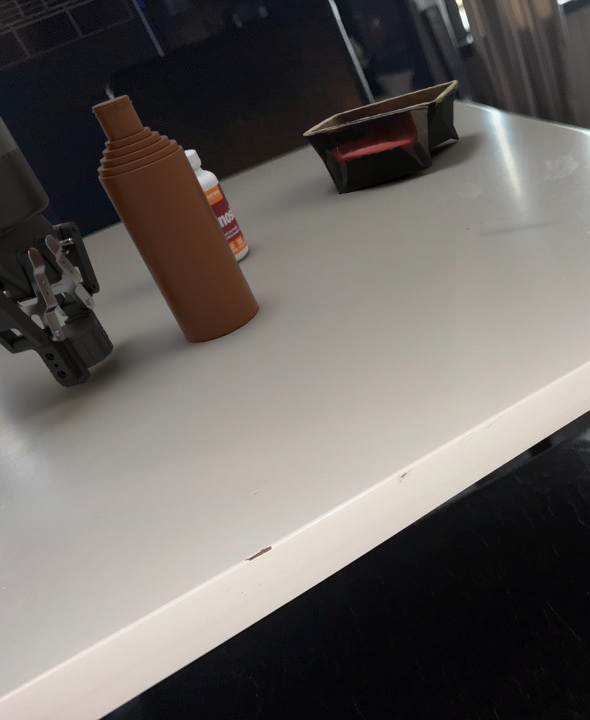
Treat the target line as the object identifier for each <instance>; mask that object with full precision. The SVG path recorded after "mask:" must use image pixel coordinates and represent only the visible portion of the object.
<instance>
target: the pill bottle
mask: <svg viewBox="0 0 590 720" xmlns="http://www.w3.org/2000/svg"><path fill="white" fill-rule="evenodd" d="M184 152H185V154H186V156H187V158H188V160H189V162H190V164H191V166H192V168H193V170H194V173H195V175H196V177H197V179H198V181H199V183H200V185H201V187H202V189H203V191H204V193H205V195H206V197H207V200H208V202H209V204H210V206H211V208H212V210H213V212H214V214H215V216H216V218H217V220H218V222H219V224H220V227H221V229H222V231H223V233H224V235H225V237H226V239H227V241H228V243H229V245H230V247H231V249H232V251H233V254H234V256H235V258H236V260H237V262H238V263H239V261H241V260H242V259H244V258H245V256H246V255H247V254H248V252H249V246H248V243H247V241H246V238H245V237H244V234H243V232H242V230H241V228H240V226H239V223H238V222H237V218H236V216H235V214H234V212H233V210H232V208H231V206H230V203H229V202H228V199H227V197H226V195H225V193H224V191H223V189H222V186H221V184H220V182H219V180H218V178H217V176H216V175H215V173H213V172H211V171H209V170H204V169H203V168H201V165H202V162H201V159H200V157H199V155H198V153H197V151H196V149H186V150H184Z"/></svg>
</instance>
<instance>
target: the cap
mask: <svg viewBox="0 0 590 720" xmlns="http://www.w3.org/2000/svg"><path fill="white" fill-rule="evenodd" d="M61 327H62V330H63V332H64V338H65V337H68V339H69V340H70V342H71V343H72V345H73V347H74V348H75V350H76V351H77V353H78V354H79V356H80V358H81V359H82V361H83V362H84V364H85V365H86V367H87V369H88V370H89V369H90V368H92V367H95V366H97V365H98V364H99V363H101V362H103V361H105V360H106V358H108V357H109V356H110V355H111V354H112V352H113V350H114V347H113V348H112V346H111V344H110V342H109V341H108V339H107V337H106V336H105V334H104V332H103V331H102V329H101V327H100V326H99V324H98V323H97V322H96V320H95V318H93V317H86V318H82V319H78V320H75V321H73V322H70V323H68V324H64V325H61Z"/></svg>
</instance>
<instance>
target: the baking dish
mask: <svg viewBox="0 0 590 720" xmlns="http://www.w3.org/2000/svg"><path fill="white" fill-rule="evenodd" d="M459 85H460V83H459V80H458V79H454V80H451V81H449V82H444V83H439V84H437V85H434V86H430V87H427V88H423V89H419V90H416V91H412V92H409V93H405V94H402V95H401V94H400V95H397V96H395V97H391V98H386V99H383V100H381V101H377V102H373V103H370V104H366V105H363V106H359V107H357V108H354V109H349V110H346V111H342V112H340V113H336V114H334V115H332V116H330V117H328V118H326V119H324V120H323V121H321V122H319V123H318V124H316V125H314V126H312V127H311V128H309V129H308V130H307V131H305V132H304V133H303V134H302V136H303V137H304V139H306V140H307V141H308V142H309V145H311V146H312V149H313V150H314V151H315V152H316V153H317V155H318V156H319V158H320V160H321V161H322V162H323V164H324V166H325V168H326V170H327V172H328V174H329V176H330V178H331V180H332V181H333V183H334V186H335V187H336V189H337V192H338V194H339V195H342V194H346V193H350V192H354V191H357V190H360V189H364V188H367V187H370V186H374V185H377V184H380V183H383V182H384V183H385V182H387V181H391V180H393V179H396V178H400V177H404V176H406V175H410V174H413V173H417V172H421V171H423V170H427V169H428V168H431V167H432V165H433V163H432V158H431V152H430V150H431V149H433V148H435V147H437V146H439V145H441V144H443V143H446V142H447V141H449V140H454V141H459V140H460V137H459V134H458V132H457V129H456V127H455V124H454V123H455V122H454V121H455V119H454V104H455V100H456V94H457V90H458V88H459Z"/></svg>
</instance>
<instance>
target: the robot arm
mask: <svg viewBox="0 0 590 720" xmlns="http://www.w3.org/2000/svg"><path fill="white" fill-rule="evenodd" d="M49 203H50V198H49V196H48V194H47V192H46V190H45V189H44V187H43V186H42V184H41V182H40V181H39V179H38V177H37V175H36V173H35V172H34V170H33V169H32V167H31V166H30V164H29V162H28V160H27V158H26V156H25V155H24V153H23V151H22V150H21V148H20V146H19V145H18V143H17V141H16V139H15V138H14V137H13V135H12V133H11V131H10V129H9V128H8V126H7V124H6V122H5V121H4V119H3V118H2V116H1V115H0V345H1V346H2V347H3V348H4V349H6V350H7V351H8V352H9V353H10V354H12V355H16V354H20V353H23V352H27V351H28V352H29V351H34V352H35V353H37V354H38V356H39V357H40V359H41V360H42V362H43V363H44V364H45V366H46V368H47V369H48V370H49V372H50V374H51V375H52V377H53V378H54V379H55V381H56V383H58V384H60V385H61V386H62V387H64V388H71V387H76V386H79V385H83V384H86V382H88V380H89V379H90V377H91V375H92V374H91V372H90V370H89V368H88V369H87V367H86V365H85V364H84V362H83V361H82V359H81V358H80V356H79V354H78V353H77V351H76V350H75V348H74V347H73V345H72V343H71V342H70V340H69V339H68V337H65V338H64V332H63V330H62V325H61V322H60V320H59V318H58V316H57V314H56V312H57V313H58V314H59V315H60V316H62V317H63V318H66V319H65V320H64V321H63V324H64V325H66V324H68V323H70V322H73V321H75V320H78V319H82V318H86V317H93V318H95V320H96V322H97V323H98V324H99V326H100V327H101V329H102V331H103V332H104V334H105V336H106V337H107V339H108V341H109V342H110V344H111V346H112V348H113V349H114V344H113V342H112V341H111V339H110V337H109V335H108V333H107V331H106V330H105V328H104V327H103V325H102V323H101V321H100V320H99V318H98V317H97V315H96V313H95V312H94V310H93V309H94V308H95V300H94V298H93V296H94V295H95V294H99V293H100V284H99V281H98V278H97V276H96V273H95V270H94V268H93V265H92V262H91V260H90V256H89V254H88V251H87V247H86V246H85V243H84V240H83V237H82V235H81V232H80V229H79V226H78V225H77V223H75V221H67V222H64V223H63V222H62V223H59V224H56V225H53V224H52V223H51V222H50V221H49V220H48V219H46V217H44V215H43V214H42V212H43V211H44V210H46V208H48V206H49ZM76 268H78V270H77V269H76ZM81 280H82V281H81ZM34 299H36V302H35V303H32V304H28V305H21V303H24V302H27V301H31V300H34ZM55 310H56V311H55ZM32 316H38V317H39V319H40V321H41V323H42V326H43V328H42V327H41V326H39V324H37V322H35V320H33V319H32ZM12 329H13V330H16V331H18V332H19V334H17V333H15V331H13V330H12Z"/></svg>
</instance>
